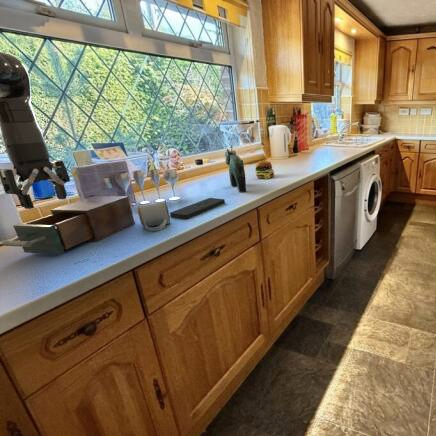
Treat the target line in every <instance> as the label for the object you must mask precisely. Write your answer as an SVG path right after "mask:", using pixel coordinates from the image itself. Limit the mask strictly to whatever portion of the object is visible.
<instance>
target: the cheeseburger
mask: <svg viewBox="0 0 436 436" xmlns="http://www.w3.org/2000/svg"><path fill="white" fill-rule="evenodd" d="M255 176H256V177H257V179H266V180H269V179H271V178H272V177H274V176H275V170H274V169H273V165H272V163H271V162H270V161H267V160H261V161H258V162H257V163H256V165H255Z"/></svg>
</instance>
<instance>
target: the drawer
mask: <svg viewBox="0 0 436 436" xmlns="http://www.w3.org/2000/svg"><path fill="white" fill-rule="evenodd" d="M58 222H59V223H58ZM55 223H56V224H55ZM52 224H55V225H56V228H57V230H58V233H59V236H60V238H61V241H62V244H61V242H60V239H59V236H58V234H57V231H56V228H55V226H54V225H52ZM12 226H13V228H14V231H15V233H16V236H17V237H15V238H13V239H10V240H7V239H5V240H3V241H2V243H1V244H2V246H3V247H15V248H16V247H20V248H22V250H23V253H26V254H40V255H41V254H43V255H59V256H61V255H62V254H64V253H65V250H68V249H71V248H73V247H75V246H77V245H79V244H82V243H84V242H87V241H86V240H88V239H91V238H93V237H94V236H93V233H92V230H91V227H90V224H89V221H88V218H87V215H86V213H63V212H58V213H55V214H52V213H51V214H49V215H47V216H42V217H40V218H37V219H34V220H31V221H28V222H26V223H17V224H14V225H12Z"/></svg>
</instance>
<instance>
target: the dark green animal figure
mask: <svg viewBox="0 0 436 436" xmlns="http://www.w3.org/2000/svg"><path fill="white" fill-rule="evenodd" d="M224 157H225V164H226V165H227V166H228V175H229V181H230V182H229V183H230V186H231V187H237V190H238V192H239V193H245V192H247V183H246V179H247V178H246V171H245V165H244V161H243V159H241V157H240V156H239V155H238V154H237V152H236V151H235V150H233V145H232V144H230V150H229V149H228V148H226V151H225V152H224Z"/></svg>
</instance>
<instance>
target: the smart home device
mask: <svg viewBox="0 0 436 436" xmlns="http://www.w3.org/2000/svg"><path fill="white" fill-rule="evenodd" d="M225 200H226V199H224V198H216V197H207V198H205V199H201V200H200V201H197V202H195V203H192V204H189V205H186V206H184V207H181V208H179V209H176V210H173V211H170V212H169V215H170V218H172V219H173V218H175V219H181V220H188V219H192V218H194V217H196V216H199V215H200V214H203V213H205V212H208V211H211V210H212V209H213V210H214V209H215V208H218V207H220V206H223V205H224V204H226V201H225Z"/></svg>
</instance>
